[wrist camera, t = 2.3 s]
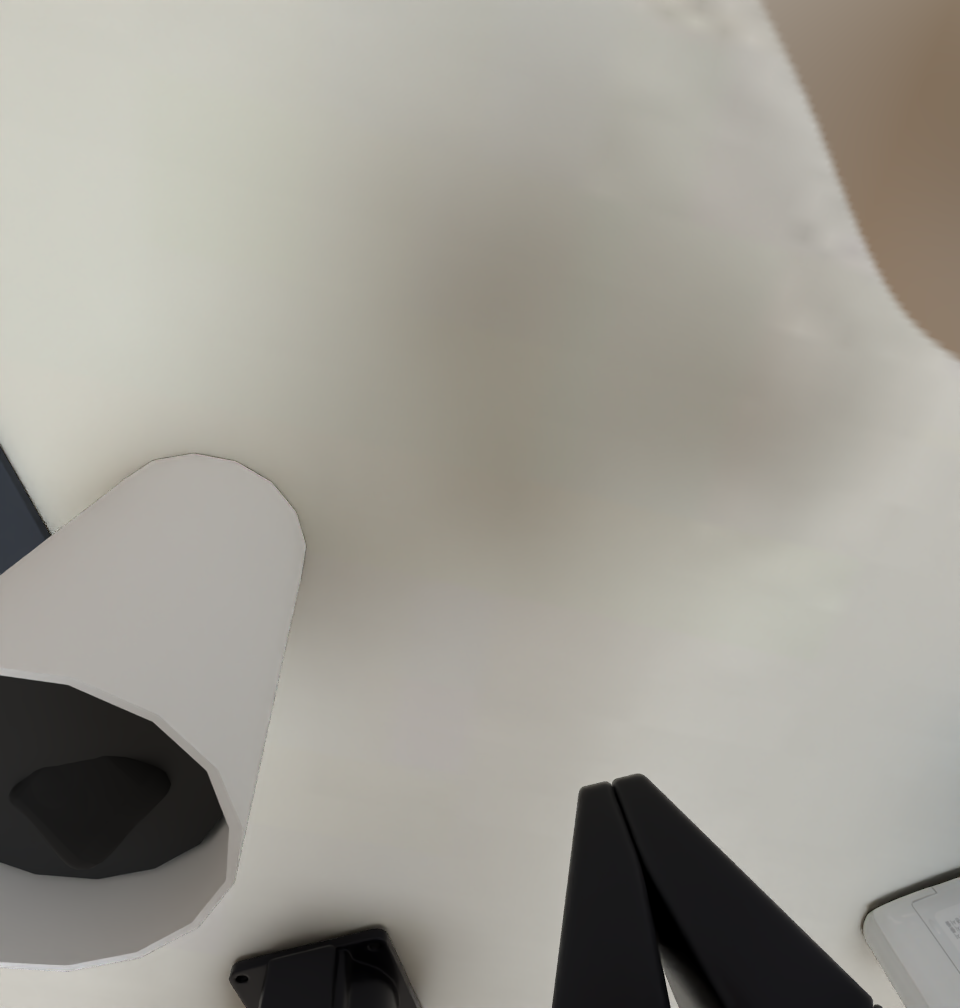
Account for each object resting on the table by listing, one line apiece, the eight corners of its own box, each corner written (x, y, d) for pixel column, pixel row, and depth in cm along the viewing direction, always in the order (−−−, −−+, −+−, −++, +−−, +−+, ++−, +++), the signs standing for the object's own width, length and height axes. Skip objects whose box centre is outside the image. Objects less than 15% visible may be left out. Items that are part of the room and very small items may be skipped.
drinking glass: (367, 546, 20) (328, 824, 11) (223, 676, 21) (82, 1019, 12) (185, 388, 18) (-58, 576, 9) (36, 546, 19) (-308, 851, 10)
